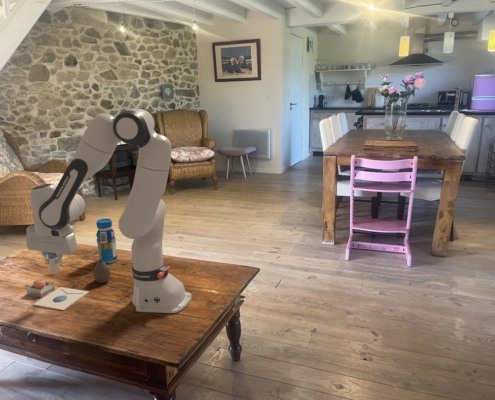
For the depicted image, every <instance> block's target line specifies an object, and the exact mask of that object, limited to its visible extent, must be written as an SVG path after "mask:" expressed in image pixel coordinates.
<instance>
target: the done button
mask: <svg viewBox="0 0 495 400" xmlns="http://www.w3.org/2000/svg"><path fill="white" fill-rule="evenodd" d="M33 284H34V288H36V289H41V288H43V287H45V286H46V279H44V278H39V279H36V280H34V281H33Z"/></svg>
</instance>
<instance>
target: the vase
mask: <svg viewBox="0 0 495 400" xmlns="http://www.w3.org/2000/svg"><path fill="white" fill-rule="evenodd" d="M92 275H93V278H94V280H95V282H97V283H99V284H104V283H107V282H108V281H109V280H110V278H111V275H112V271H111V269H110V267H109V265H108V264H107V263H104V261H100V260H98V261H97V263H96V265H95V267H94V269H93V272H92Z"/></svg>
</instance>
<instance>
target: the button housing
mask: <svg viewBox="0 0 495 400" xmlns="http://www.w3.org/2000/svg"><path fill="white" fill-rule="evenodd" d="M45 281H46V280H45ZM25 290H26V295H27V296H31V297H37V298H41V299H42V298H44V297H45V296H47V295H49V294H50V293H52V292H53V291H55V290H56V288H55V282H52V281H46V286H45V287H43V288H41V289H36V288H34V283H32V284H31V285H29V286H27V287H26V288H25Z"/></svg>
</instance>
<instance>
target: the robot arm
mask: <svg viewBox="0 0 495 400" xmlns="http://www.w3.org/2000/svg"><path fill="white" fill-rule="evenodd" d="M156 127H157V120H156V117H155V115H154V114H153V113H152V112H151V111H150V110H148V109H147V108H143V107H132V108H128V109H126V110H123V111H121V112H119V113H118V114H117V115H116V116H113V115H112V114H110V113H109V114H108V113H99V114H96V115H95V116H94V117H93V119H92V120H91V122H89V125H88V126H87V128H86V129H85V131H84V133H83V135H82V137H81V140H79V143H78V145H77V148H76V150H75V152H74V155H73V156H72V158H71V161H70V162H69V164H68V166H67V168H66V169H65V171H64V173H63V175H62V176H61V178H60V180H59V182H58V184H57V185H55V184H54V183H43V184H40V185H37V186H35V187H33V188H32V189H31V191H30V195H29V196H30V208H31V212H32V214H33V225H29V226H27V228H26V229H25V232H26V235H25V239H26V240H25V242H26V243H25V244H26V248H27V249H28V250H29V251H36V252H41V255H42V256H43V258H44V259H45V262H46V263H49V258H48V253H47V252H50V253H56V256H57V259H55V263H56V264H59V265H60V264H62V261H63V260H62V258H63V256H64V255H66V256H71V255H74V254H75V253H76V252H77V250H78V245H77V238H76V235H75V234H74V233H73V232H75V228H74V226H73V225H71V224H70V223H71V222H73V221H74V220H76V219H77V218H79V217H80V216H81V215H83V213H85V211H86V208H87V207H86V206H87V205H86V201H85V199H84V197H83V196H82V195H81V194H79V193H78V192H79V190H80V188H81V187H82V185H83V184H84V182H86V181H87V180H88V179H89V178H90V177H92V176H94V175H95V174H96V173H98V172H99V171H101V170H102V169H103V168H105V166H106V165H107V164H108V162H109V161H110V159H111V158H112V156H113V154H114V152H115V150H116V148H117V146H118V144H119V143H120V141H121V142H123V143H125V144H127V145H128V146H130V147H132V148H133V149H138V156H137V157H138V158H137V163H136V167H135V168H136V169H135V174H134V178H133V184H132V187H131V190H130V192H129V195H128V198H127V199H126V204H125V206H124V209H123V211H122V214H121V215H120V217H119V219H118V222H117V224H118V225H117V226H118V229H119V232H120V233H121V234H122V235H123V236H124V237H126V238H128V239H133V241H132V243H131V248H130V251H131V258H132V259H131V260H132V267H131V271H132V277H133V294H132V300H131V303H132V305H133V306H134V308H135V311H136V312H138V313H139V312H140V313H160V314H176V313H178V312H181V311H182V310H184V309H185V308H186V307H187V306H188V305H189V304H190V302H191V301H192V293H190V292H188V291H186V289H185V285H184V283H183V282H182V281H180V280H179V279H178V278H176V277H175V276H174V275H172V274H171V273H169V270H170V268H171V266H170V265H168V266H166V264H165V262H164V256H163V255H164V254H163V237H164V228H165V217H166V215H167V214H166V213H167V205H166V203H165V201H164V200H163V199H162V197H163V195H164V193H165V191H166V187H167V184H168V183H167V182H168V177H169V173H170V167H171V162H172V161H171V160H172V143H171V140H170V139H169V138H168V137H166V136H165V135H163V134H160V133H157V132H156V131H155V130H156Z"/></svg>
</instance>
